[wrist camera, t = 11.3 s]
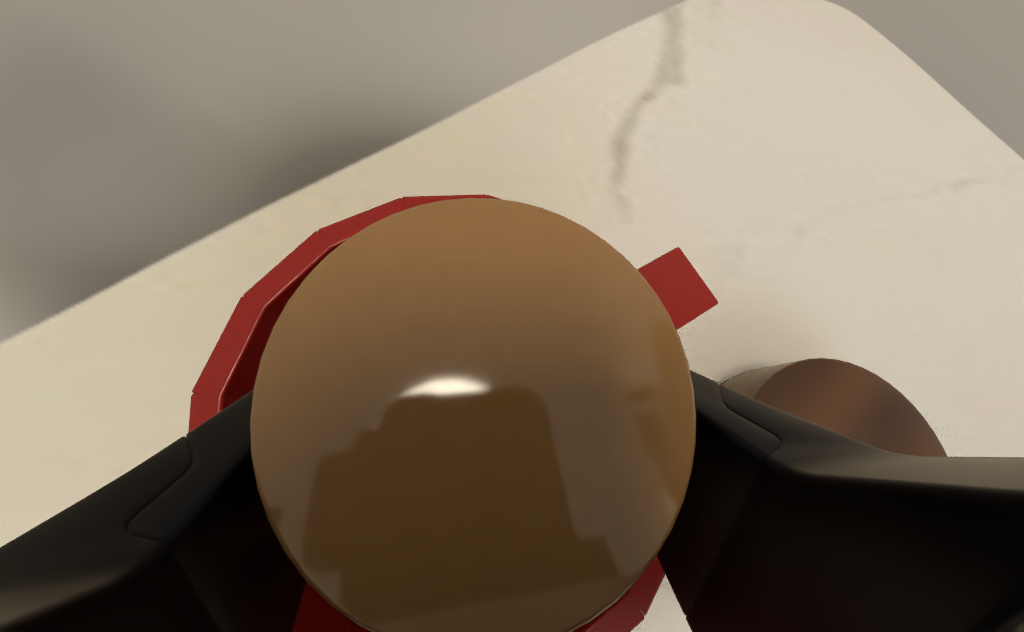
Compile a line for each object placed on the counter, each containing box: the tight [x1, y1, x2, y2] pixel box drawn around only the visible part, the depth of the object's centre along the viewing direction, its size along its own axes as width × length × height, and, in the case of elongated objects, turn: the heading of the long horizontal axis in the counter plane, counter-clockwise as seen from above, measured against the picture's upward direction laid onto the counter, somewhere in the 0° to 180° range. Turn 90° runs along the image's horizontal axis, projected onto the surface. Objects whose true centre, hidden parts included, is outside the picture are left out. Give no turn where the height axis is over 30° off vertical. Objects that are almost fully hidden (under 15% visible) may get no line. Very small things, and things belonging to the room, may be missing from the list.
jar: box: [250, 198, 696, 632], centre depth 8 cm, size 6×6×7 cm
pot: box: [189, 195, 718, 632], centre depth 14 cm, size 13×18×8 cm
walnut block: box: [722, 358, 947, 457], centre depth 18 cm, size 11×11×4 cm
